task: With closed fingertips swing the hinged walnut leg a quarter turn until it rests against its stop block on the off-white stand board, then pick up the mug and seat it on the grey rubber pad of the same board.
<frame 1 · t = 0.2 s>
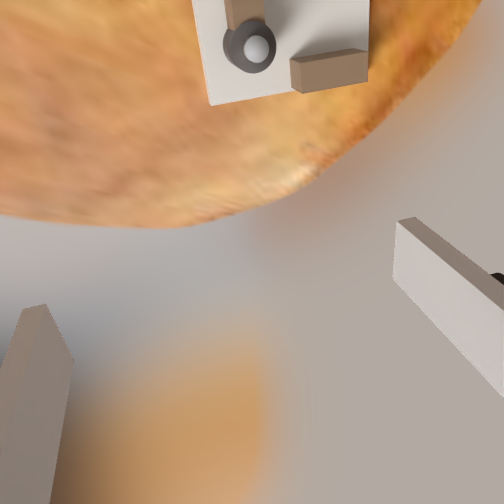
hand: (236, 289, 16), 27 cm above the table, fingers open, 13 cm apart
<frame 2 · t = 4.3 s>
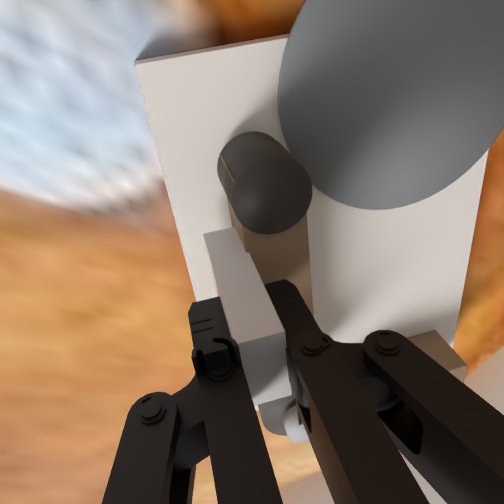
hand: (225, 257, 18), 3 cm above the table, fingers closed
leg: (277, 302, 18), point 3 cm above the table, hinge at 0.0°, touching gripper
stand board: (331, 241, 22), on the table
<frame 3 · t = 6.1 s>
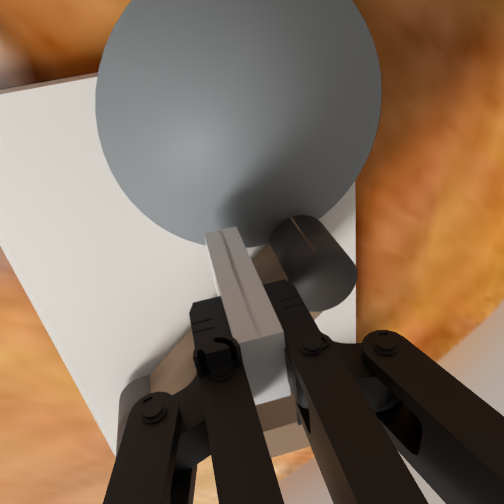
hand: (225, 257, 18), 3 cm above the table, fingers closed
leg: (224, 354, 19), point 4 cm above the table, hinge at 48.9°, touching gripper
stand board: (204, 277, 21), on the table
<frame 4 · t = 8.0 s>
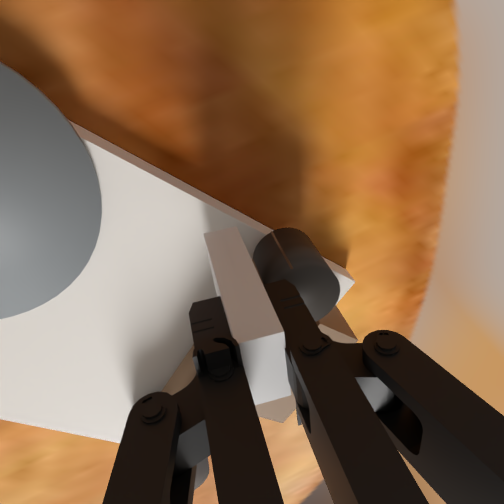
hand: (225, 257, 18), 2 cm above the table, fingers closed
leg: (223, 371, 19), point 4 cm above the table, hinge at 88.3°, touching gripper
stand board: (105, 308, 20), on the table
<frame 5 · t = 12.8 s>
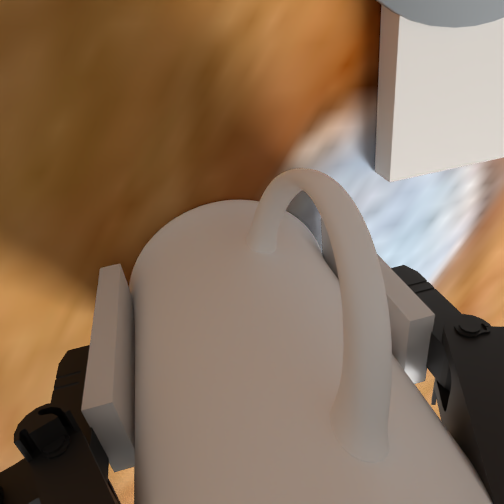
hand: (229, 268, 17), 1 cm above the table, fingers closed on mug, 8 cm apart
mug: (237, 253, 18), on the table, touching gripper
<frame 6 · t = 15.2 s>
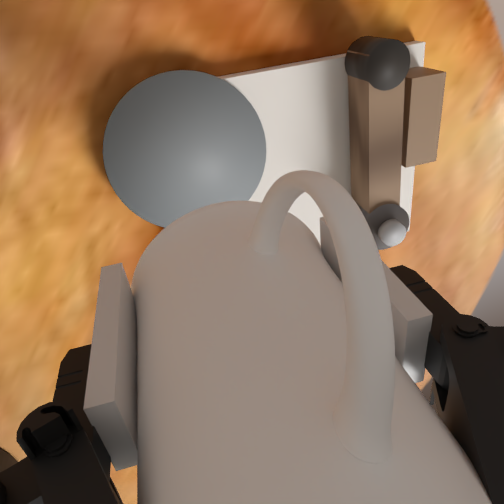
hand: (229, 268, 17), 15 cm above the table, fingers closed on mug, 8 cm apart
mug: (238, 254, 18), point 14 cm above the table, touching gripper
leg: (376, 151, 29), point 3 cm above the table, hinge at 88.4°
stand board: (289, 169, 32), on the table
when the fingers open (3 cm above the table, at t = 17.9 s): mug stays where it is, resting on stand board.
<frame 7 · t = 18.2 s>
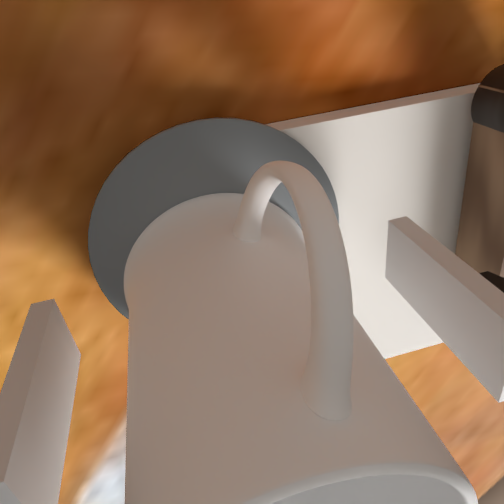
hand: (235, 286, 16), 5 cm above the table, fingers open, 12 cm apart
mug: (227, 245, 19), point 1 cm above the table, touching stand board
stand board: (363, 249, 22), on the table
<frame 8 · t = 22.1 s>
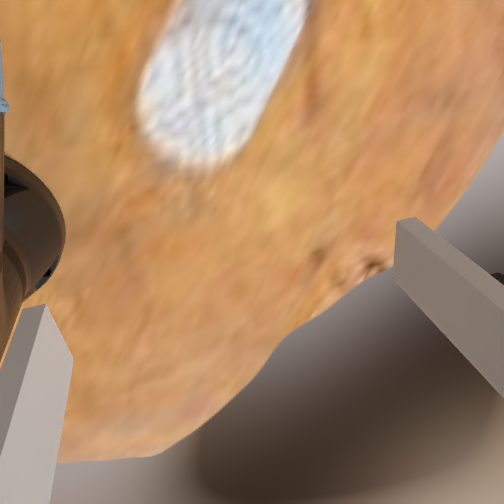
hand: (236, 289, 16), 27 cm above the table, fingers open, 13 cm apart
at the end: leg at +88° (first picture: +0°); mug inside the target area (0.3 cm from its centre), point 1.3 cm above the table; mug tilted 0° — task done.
